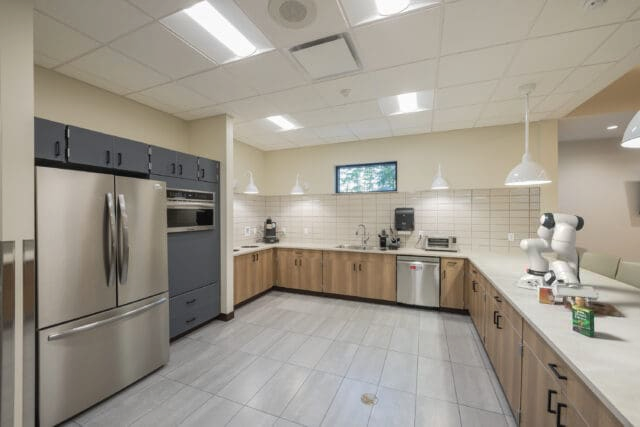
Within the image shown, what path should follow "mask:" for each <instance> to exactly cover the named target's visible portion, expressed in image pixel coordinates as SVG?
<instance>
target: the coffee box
mask: <svg viewBox="0 0 640 427" xmlns="http://www.w3.org/2000/svg"><path fill="white" fill-rule="evenodd" d="M571 311H572V312H571V314H572V320H571V321H572V331H574V332H576V333H579V334H581V335H584V336H586V337H588V338H595V313H594V310H591V309H588V308H584V307H581V306H578V305H572V309H571Z"/></svg>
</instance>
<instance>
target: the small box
mask: <svg viewBox="0 0 640 427" xmlns="http://www.w3.org/2000/svg"><path fill="white" fill-rule="evenodd" d="M552 288H553V287H552V286H551V287H548V286H539V285H537V290H536V301H537V303H538V304H545V305H552V306H555V305H556V304H555V303H556V302H555V301H556V299H555V298H556V297H555V296H554V295H553V292H552Z"/></svg>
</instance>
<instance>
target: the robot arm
mask: <svg viewBox="0 0 640 427" xmlns="http://www.w3.org/2000/svg"><path fill="white" fill-rule="evenodd" d="M539 224H540V226H539V227H538V229H537V235H538V236H539V238H535V237H534V238H531V237H529V238H523V239H522V240H521V241H520V243H519V248H520V249H521V250H522V251H523V252H524V253H526V254H527V256H528V258H529V265H530V266H529V267H530V268H526V273H524V274H523V275H520V276H519V277H518V280H517V281H516V282H514V286H515V287H518V288H523V289H527V290H528V289H529V290H534V291H537V285H539V286H548V287H553V288H552V292H553V295H554V296H555V298H556V299H557V298H559V299H560V298H561V299H563V298H566V299H567V300H568V301H569V302H571V304H572V305H576V302H575V301H573V300H571V299H575V297H581V298H584V301H585V302H584V306H589V304H588V301H593V302H596V301H597V300H598V299H599V298H600V296H599V294H598V293H597V292H596V291H595V288H594V287H593V286H591V285H589V284H581V278H580V254H579V252H578V251H577V250H576V240H577V232H578V231H581V230H582V229H583V228H584V226H585V221H584V218H583V217H582V216H578V215H573V214H568V213H557V212H554V213H553V212H544V213H543V214H542V215H541V217H540V220H539ZM544 253H545V254H549V253H550V254H551V253H556V254H558V255H560V256H561V257H563V258H565V259H566V261H565V260H555V261H553V262H552V263H551V267H550V261H549V260H548V259H547V258H545V257H544V256H542V254H544Z"/></svg>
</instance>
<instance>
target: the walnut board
mask: <svg viewBox="0 0 640 427" xmlns="http://www.w3.org/2000/svg"><path fill="white" fill-rule="evenodd" d="M571 300H573V301H575V299H571ZM584 302H585V301H584ZM562 304H563V306H564V308H565V309H568V310H569V309H570V310H572V304H571V302H569V301H568V300H567V299H566V298H562ZM588 304H589V306H584V308H588V309H591V310H594V314H599V315H604V316H610V317H615V318H619V317H620V310H618V309H617V308H616V307H615V305H614V304H612V303H611V304H609V303H602V302H596V301H592V300H589V301H588Z"/></svg>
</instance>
